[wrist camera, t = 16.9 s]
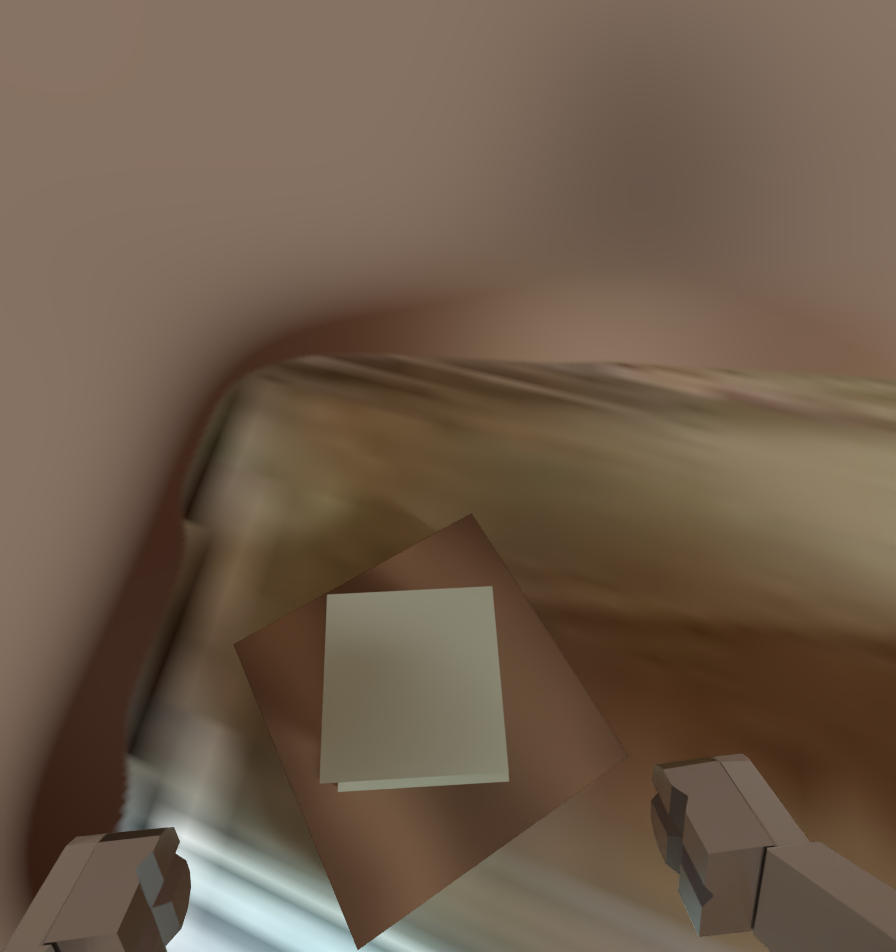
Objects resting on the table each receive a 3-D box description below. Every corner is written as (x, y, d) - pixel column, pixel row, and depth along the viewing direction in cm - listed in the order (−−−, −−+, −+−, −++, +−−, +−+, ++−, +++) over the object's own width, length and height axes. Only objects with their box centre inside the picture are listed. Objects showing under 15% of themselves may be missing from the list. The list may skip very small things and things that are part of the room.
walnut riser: (467, 551, 32) (471, 513, 26) (592, 752, 27) (628, 755, 22) (272, 662, 29) (233, 644, 24) (377, 904, 25) (357, 950, 19)
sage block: (346, 622, 24) (305, 573, 17) (492, 614, 24) (512, 562, 17) (342, 789, 21) (290, 816, 14) (506, 779, 22) (538, 800, 14)
